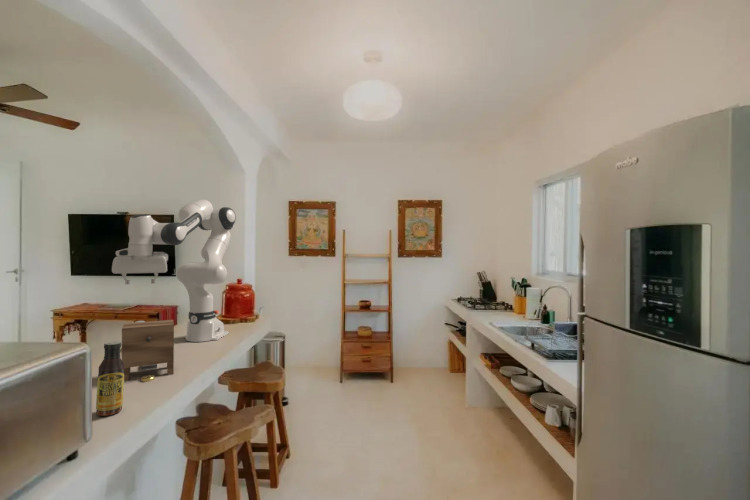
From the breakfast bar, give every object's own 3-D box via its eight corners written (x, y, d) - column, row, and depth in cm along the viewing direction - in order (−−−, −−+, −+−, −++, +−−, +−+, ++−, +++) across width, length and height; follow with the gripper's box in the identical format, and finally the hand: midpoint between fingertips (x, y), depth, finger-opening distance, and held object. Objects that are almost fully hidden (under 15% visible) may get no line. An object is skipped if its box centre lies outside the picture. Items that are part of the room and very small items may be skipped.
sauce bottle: (95, 419, 102) (96, 347, 101) (96, 411, 107) (96, 342, 106) (124, 413, 105) (125, 343, 105) (123, 405, 110) (124, 339, 110)
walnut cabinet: (124, 372, 139) (124, 323, 139) (172, 366, 147) (173, 319, 147) (121, 382, 129) (121, 329, 129) (173, 374, 137) (173, 324, 137)
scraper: (143, 357, 158) (143, 348, 158) (157, 355, 161) (157, 346, 161) (141, 370, 142) (142, 359, 142) (157, 368, 145) (157, 358, 145)
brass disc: (148, 378, 135) (148, 374, 135) (157, 379, 134) (157, 375, 134) (138, 381, 131) (138, 378, 131) (147, 383, 130) (147, 379, 130)
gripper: (168, 251, 168) (167, 282, 168) (113, 251, 158) (112, 284, 158) (168, 251, 163) (168, 283, 163) (111, 251, 153) (111, 285, 153)
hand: (140, 283), depth 160 cm, fingers open, 8 cm apart
